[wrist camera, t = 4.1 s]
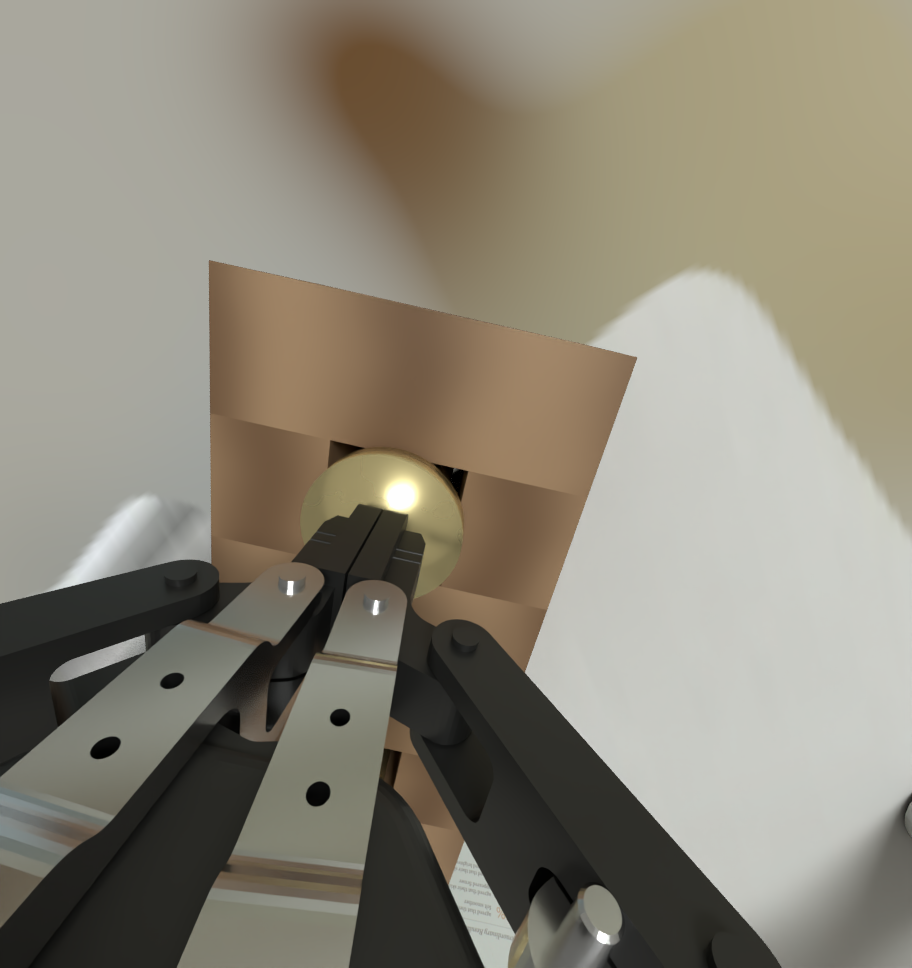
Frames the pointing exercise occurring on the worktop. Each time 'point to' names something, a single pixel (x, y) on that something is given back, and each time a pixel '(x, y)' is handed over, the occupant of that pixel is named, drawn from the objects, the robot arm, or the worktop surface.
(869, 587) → the worktop surface
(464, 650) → the robot arm
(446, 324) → the socket block
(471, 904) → the small box
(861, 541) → the worktop surface
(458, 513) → the plunger
